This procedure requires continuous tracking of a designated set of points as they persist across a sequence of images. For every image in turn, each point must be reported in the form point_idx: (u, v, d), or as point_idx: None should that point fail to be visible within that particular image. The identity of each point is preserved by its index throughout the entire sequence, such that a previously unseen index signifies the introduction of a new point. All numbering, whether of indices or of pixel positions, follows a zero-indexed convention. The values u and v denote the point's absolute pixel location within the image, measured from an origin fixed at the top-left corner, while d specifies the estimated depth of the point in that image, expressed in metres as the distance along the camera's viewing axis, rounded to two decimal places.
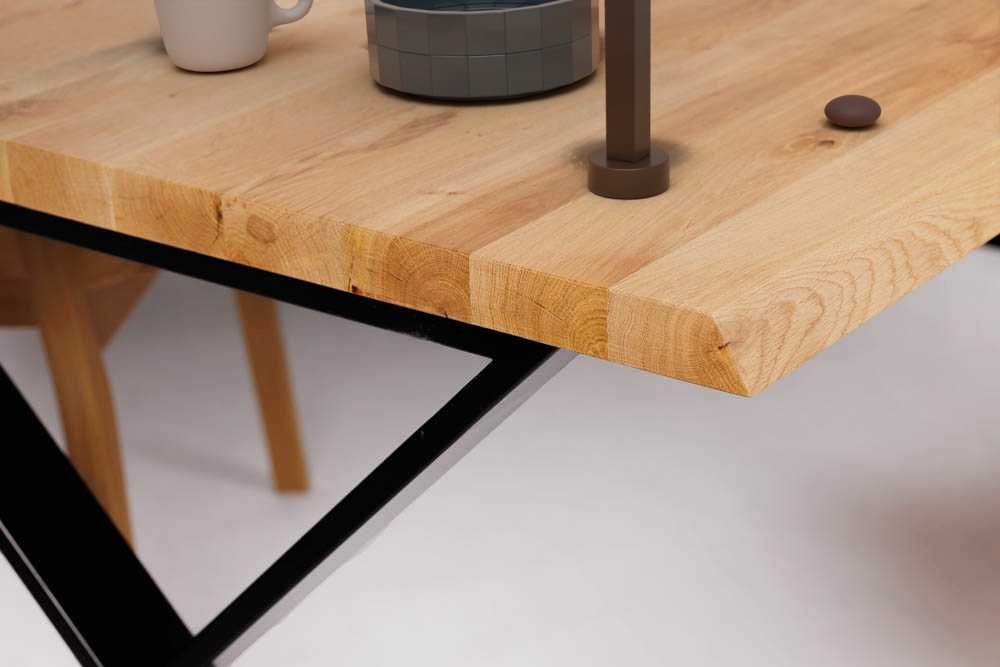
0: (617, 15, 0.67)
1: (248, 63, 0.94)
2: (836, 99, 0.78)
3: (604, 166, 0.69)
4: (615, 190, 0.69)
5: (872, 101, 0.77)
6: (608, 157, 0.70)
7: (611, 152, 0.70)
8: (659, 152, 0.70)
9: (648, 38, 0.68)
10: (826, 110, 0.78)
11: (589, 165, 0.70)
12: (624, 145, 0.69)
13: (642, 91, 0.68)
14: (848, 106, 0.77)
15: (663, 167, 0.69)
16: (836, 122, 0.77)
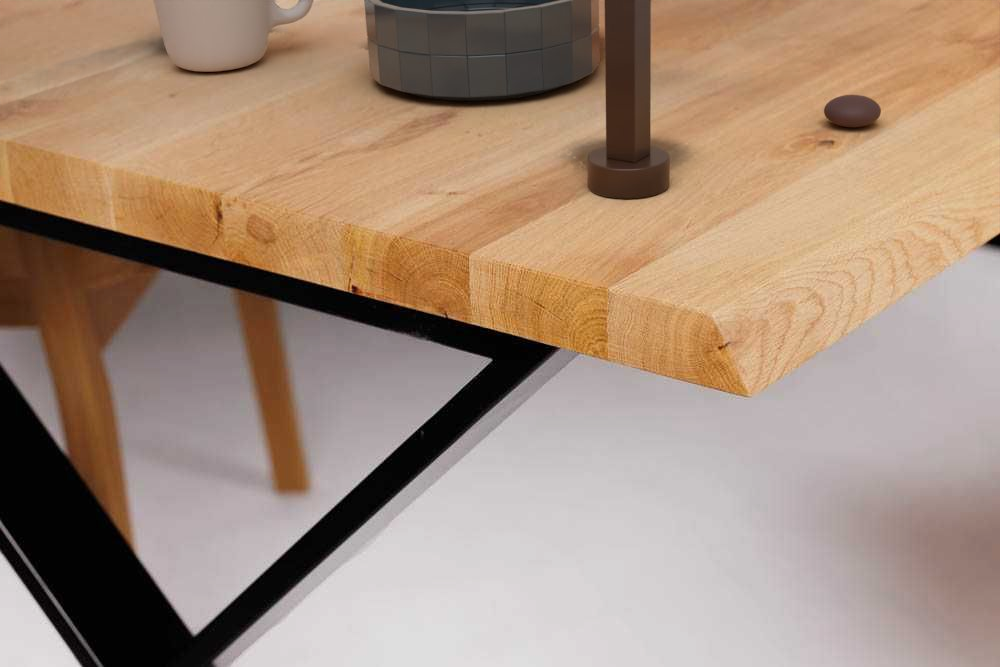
0: (617, 15, 0.67)
1: (248, 63, 0.94)
2: (836, 99, 0.78)
3: (604, 166, 0.69)
4: (615, 190, 0.69)
5: (872, 101, 0.77)
6: (608, 157, 0.70)
7: (611, 152, 0.70)
8: (659, 152, 0.70)
9: (648, 38, 0.68)
10: (826, 110, 0.78)
11: (589, 165, 0.70)
12: (624, 145, 0.69)
13: (642, 91, 0.68)
14: (847, 106, 0.77)
15: (663, 167, 0.69)
16: (836, 122, 0.77)
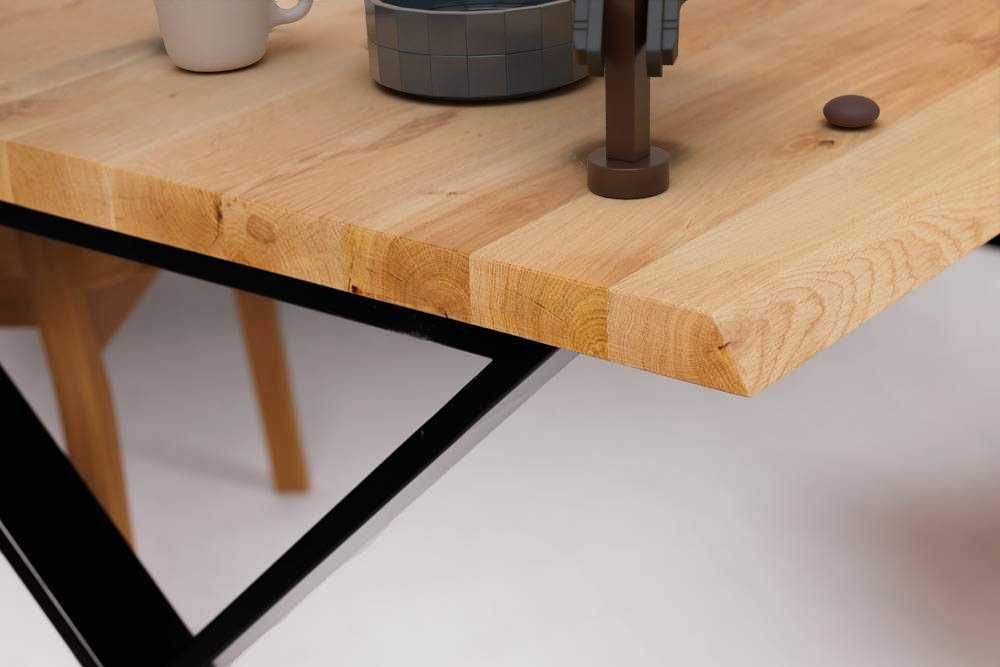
0: (617, 15, 0.67)
1: (248, 63, 0.94)
2: (835, 99, 0.78)
3: (604, 166, 0.69)
4: (615, 190, 0.69)
5: (871, 101, 0.77)
6: (608, 157, 0.70)
7: (611, 152, 0.70)
8: (659, 152, 0.70)
9: None
10: (825, 110, 0.78)
11: (589, 165, 0.70)
12: (624, 145, 0.69)
13: (642, 91, 0.68)
14: (847, 106, 0.77)
15: (663, 167, 0.69)
16: (835, 122, 0.77)
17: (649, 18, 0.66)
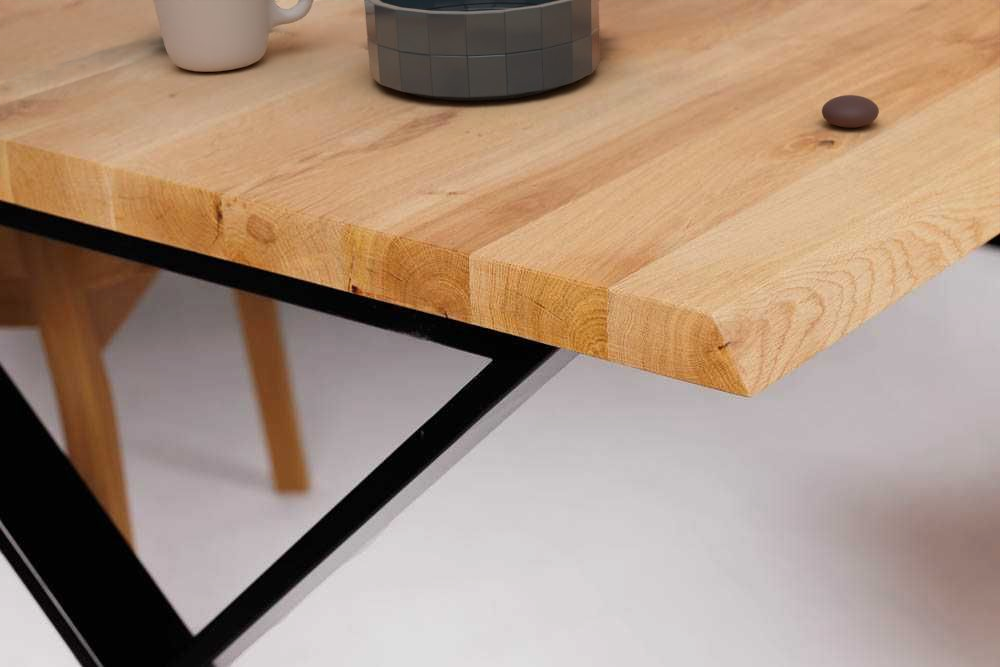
0: None
1: (248, 63, 0.94)
2: (833, 99, 0.78)
3: None
4: None
5: (869, 101, 0.77)
6: None
7: None
8: None
9: None
10: (823, 110, 0.78)
11: None
12: None
13: None
14: (845, 107, 0.77)
15: None
16: (833, 122, 0.77)
17: None
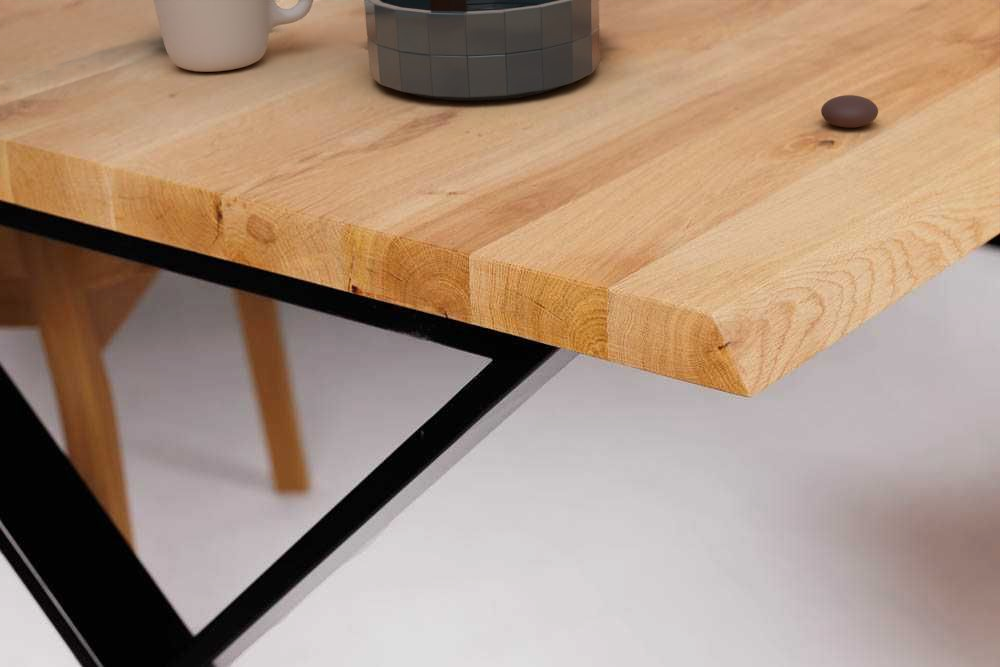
0: None
1: (248, 63, 0.94)
2: (833, 99, 0.78)
3: None
4: None
5: (869, 101, 0.77)
6: None
7: None
8: None
9: None
10: (823, 110, 0.77)
11: None
12: None
13: None
14: (845, 107, 0.77)
15: None
16: (833, 122, 0.77)
17: None
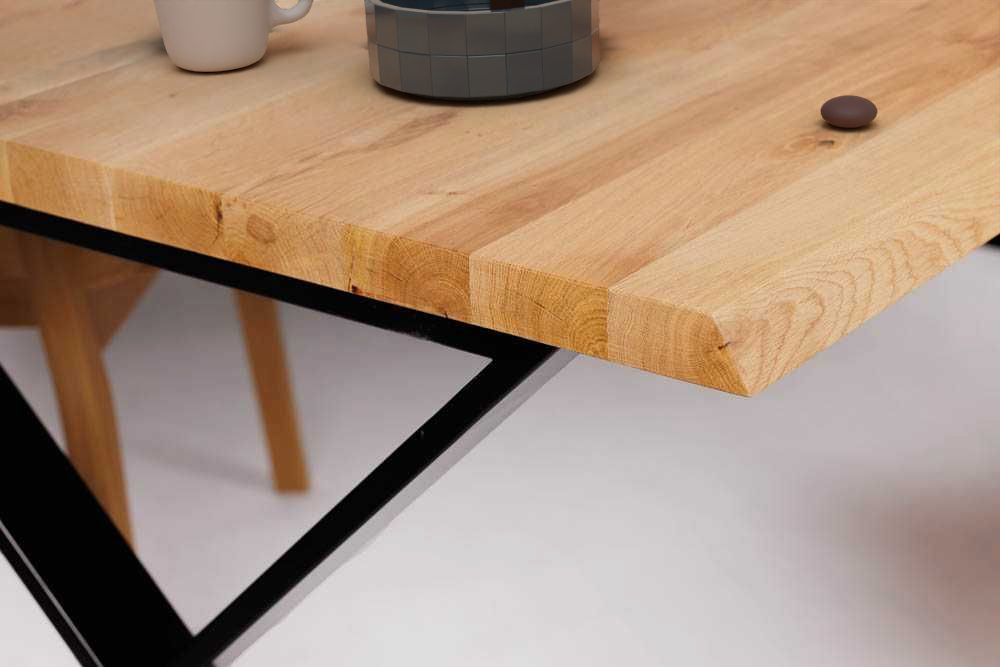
0: None
1: (248, 63, 0.94)
2: (832, 100, 0.78)
3: None
4: None
5: (868, 102, 0.77)
6: None
7: None
8: None
9: None
10: (822, 111, 0.77)
11: None
12: None
13: None
14: (844, 107, 0.77)
15: None
16: (832, 123, 0.77)
17: None
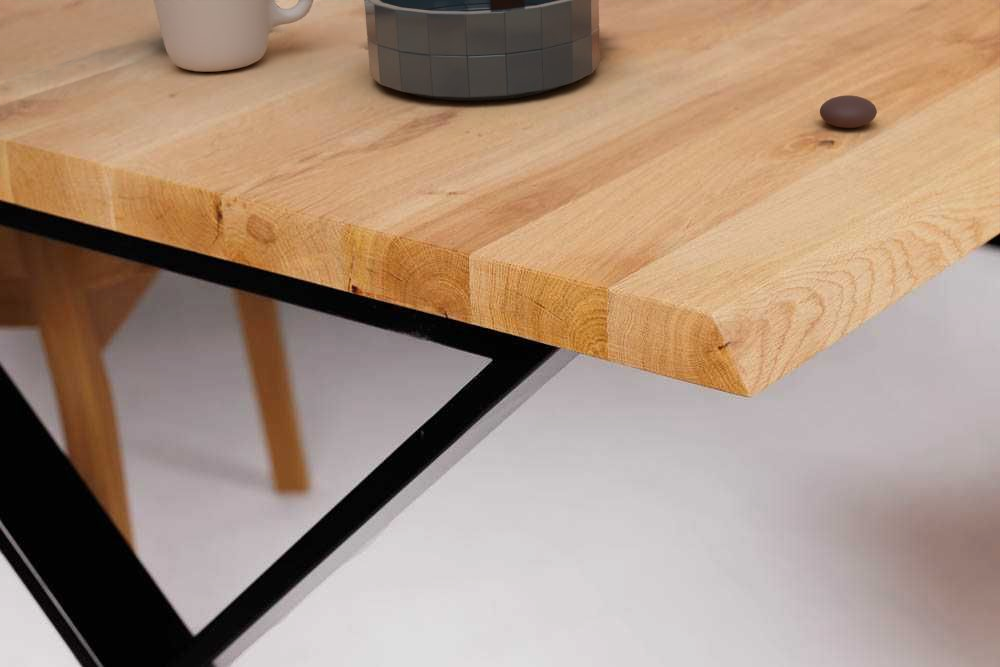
0: None
1: (248, 63, 0.94)
2: (831, 100, 0.78)
3: None
4: None
5: (867, 102, 0.77)
6: None
7: None
8: None
9: None
10: (821, 111, 0.77)
11: None
12: None
13: None
14: (843, 107, 0.77)
15: None
16: (831, 123, 0.77)
17: None
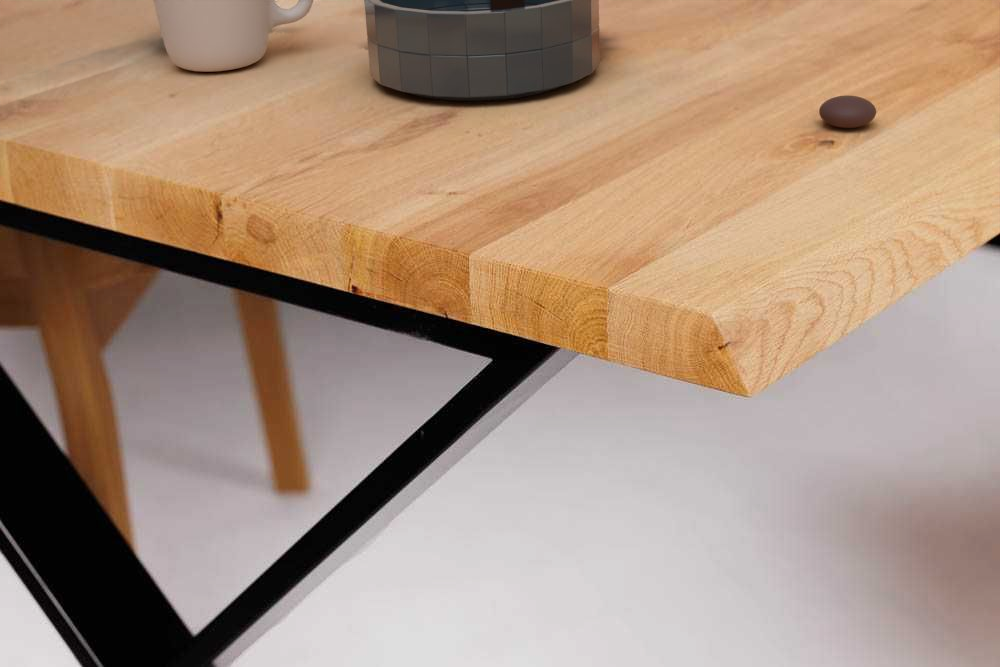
0: None
1: (248, 63, 0.94)
2: (831, 100, 0.78)
3: None
4: None
5: (867, 102, 0.77)
6: None
7: None
8: None
9: None
10: (821, 111, 0.77)
11: None
12: None
13: None
14: (843, 107, 0.77)
15: None
16: (831, 123, 0.77)
17: None
